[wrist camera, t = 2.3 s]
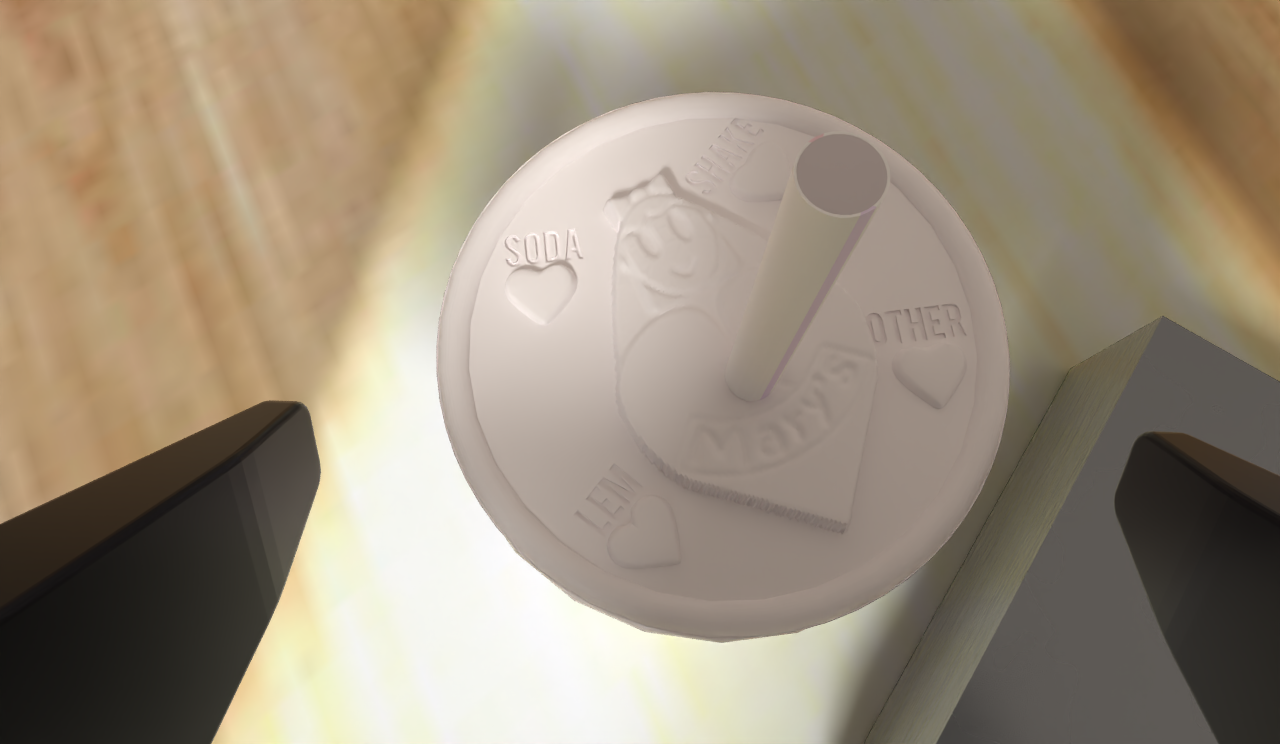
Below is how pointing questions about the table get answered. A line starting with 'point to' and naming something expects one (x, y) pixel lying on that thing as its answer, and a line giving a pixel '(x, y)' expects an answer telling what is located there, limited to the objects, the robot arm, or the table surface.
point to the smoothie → (722, 366)
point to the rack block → (1078, 565)
